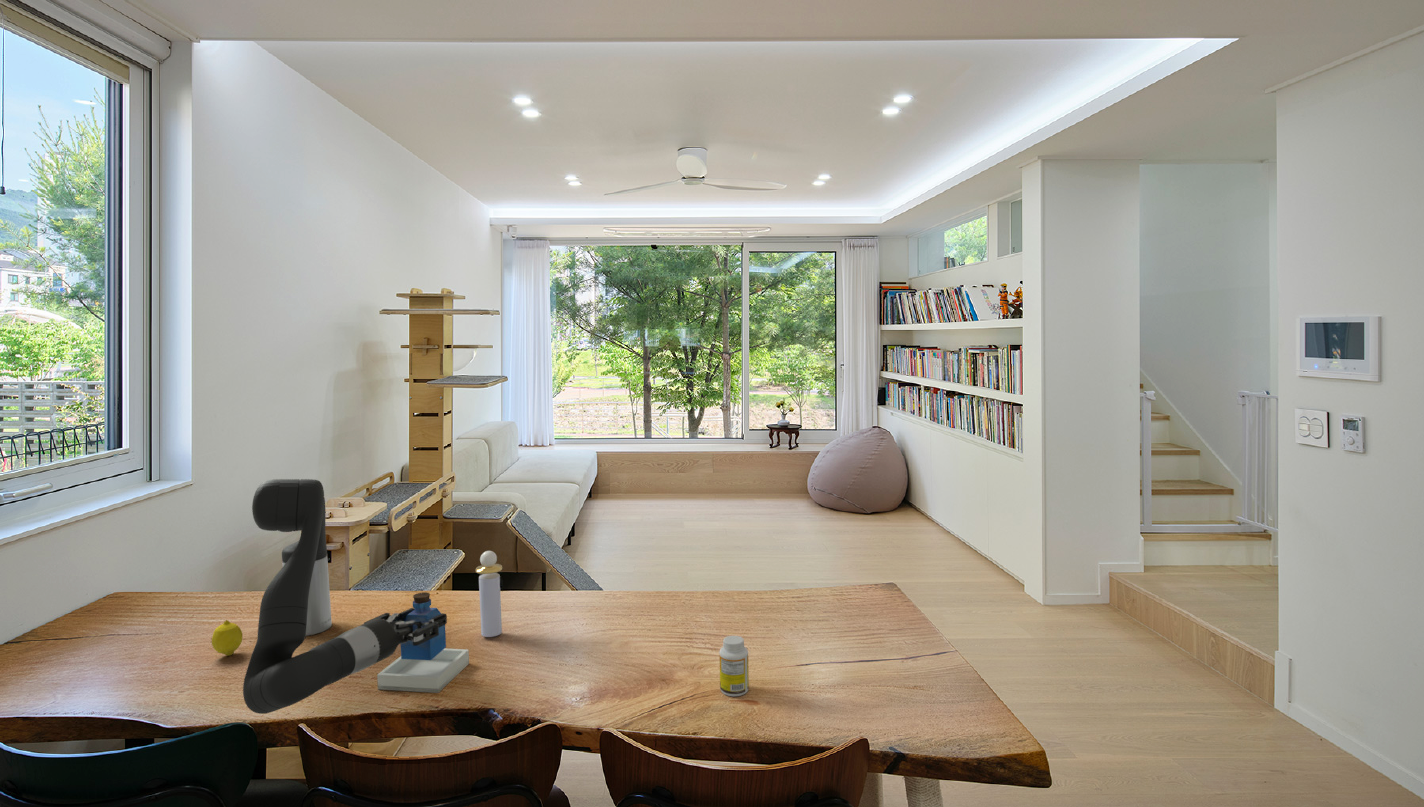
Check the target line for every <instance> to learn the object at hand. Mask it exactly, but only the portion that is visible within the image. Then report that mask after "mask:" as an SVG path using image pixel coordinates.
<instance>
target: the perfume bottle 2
mask: <svg viewBox="0 0 1424 807" xmlns="http://www.w3.org/2000/svg"><path fill="white" fill-rule="evenodd" d="M497 559H498V556H497V554H496V553H495V552H494V551H492V550H486V551H484V552H482V554H481V555H480V558H479V561H480V564H481V565H478V566H477V567H476V568H475V573H477V574H479V576H478V589H479V590H478V591H479V608H480V610H479V611H480V633H481V636H482V637H484V638H485V637H486V638H490V637H491V638H493V637H496V636H499V635H501V634H502V632H503V626H502V625H503V623H502V598H501V589H502V591H503V590H504V581H503V579H502V576H500V573H498V572H501V571H502V570H503V565H502V564H500V563H497V561H498V560H497Z"/></svg>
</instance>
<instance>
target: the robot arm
mask: <svg viewBox="0 0 1424 807" xmlns="http://www.w3.org/2000/svg"><path fill="white" fill-rule="evenodd" d="M254 492H255V493H254V495H253V499H252V504H251V505H252V507H251V509H252V510H251V511H252V517H253V520H254V521H253V522H254V523H255V525H256V526H257V528H259V529H261V530H263V531H267V532H268V531H269V532H270V531H271V532H277V531H278V532H281V533H290V532H300V531H301V532H300V537H299V539H298V540H297V541H295V542H293V543H291V544H289V545H287V546H285V547H284V548H283V549H282V552H281V563H282V568H280V570H279V571H278V572H277V573H276V574H275V576H274V577H273V579H272V580H271V581H270V582H269V584H268V585H267V587H266V589H265V591H264V593H263V595H262V599H261V601H260V607H259V614H258V625H257V626H258V627H257V638H256V639H257V640H256V643H255V644H254V645H255V646H254V648H253V650H252V653H251V655H250V656H251V657H250V658H249V662H248V665H247V668H246V672H245V675H244V679H243V685H242V694H243V700H244V703H245V705H246V707H247V708H248V709H249V710H250V711H252V712H253V713H256V714H260V715H262V714H263V715H264V714H265V715H266V714H270V713H272V712H276V711H279V710H281V709H284V708H287V707H290V706H293V705H295V704H297V703H299V702H301V701H303V700H305V699H307V698H309V697H311V696H312V695H314V694H315V693H317V692H318V691H320V690H322V689H323V688H324V687H326V686H329V685H332V684H334V683H336V682H338V681H340V680H343V679H344V678H346V677H348V676H351V675H354V674H356V673H359V672H361V671H363V670H365V669H367V668H370V667H371V666H373V665H375V664H377V663H379V662H381V661H383V660H385V659H387V658H389V657H391V656H392V655H394V653H395V651H396V650H397V648H398V646H399V645H401V644H402V643H406V642H407V641H413V646H417V645H420V644H422V643H424V642H426V641H428V640H430V639H432V638H434V637H436V636H438V635H439V627H441V626H443V625H445V626H446V625H447V623H448V621H447V620H448V618H447V617H448V615H447V614H446V613H443V612H441V614H440V615H438V616H436V617H434V618H432V619H430V620H425V621H420V620H419V619H417V620H412V621H407V622H404V620H405V618H406V617H407V615H408V614H409V613H411V612H412V611H413V610H415V609H414V608H413V607H411V608H408V609H406V610H404V611H401V612H394V613H392V614H391V613H390V612H384V613H382V614H381V615H378V616H376V617H373V618H371V619H369V620H367V621H364V622H363V624H360V625H357V626H355V627H354V628H351V629H349V630H346V631H345V632H342V633H341V634H339V635H338V636H335V637H334V638H332V639H329V640H327V641H325V642H322V643H320V644H318V645H316V646H314V647H313V648H311V649H309V650H308V651H306V652H303V653H301V654H300V653H299V654H297V655H295V656H293V654H294V653H295V651H296V650H297V649H298V648H299V647H300V646H301V645H302V644H303V642H304V641H305V639H306V637H309V636H313V635H317V634H320V633H322V632H325V631H328V629H330V628H331V627H332V626H333V624H332V623H333V621H332V608H331V606H332V605H331V595H330V592H331V591H330V579H329V577H330V576H329V563H328V561H329V560H328V548H327V547H328V546H327V537H326V499H325V490H324V486H323V484H322V482H321V481H320V480H318V479H311V478H310V479H309V478H302V479H299V478H295V479H294V478H290V479H289V478H279V479H278V478H275V479H267V480H265V481H263V482H262V483H260V485H258V487H257V488H256V490H255V491H254ZM413 625H416V627H417V629H416V630H415V631H414V632H413ZM423 625H426V626H424V627H422V626H423Z"/></svg>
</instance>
